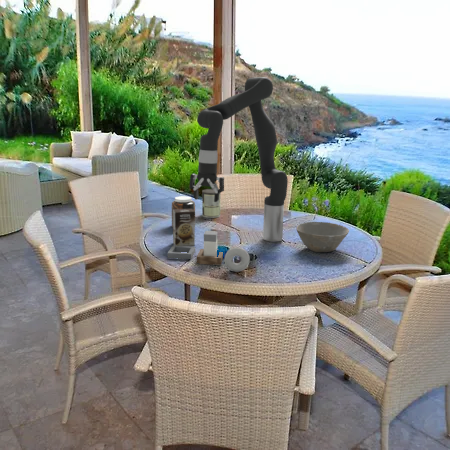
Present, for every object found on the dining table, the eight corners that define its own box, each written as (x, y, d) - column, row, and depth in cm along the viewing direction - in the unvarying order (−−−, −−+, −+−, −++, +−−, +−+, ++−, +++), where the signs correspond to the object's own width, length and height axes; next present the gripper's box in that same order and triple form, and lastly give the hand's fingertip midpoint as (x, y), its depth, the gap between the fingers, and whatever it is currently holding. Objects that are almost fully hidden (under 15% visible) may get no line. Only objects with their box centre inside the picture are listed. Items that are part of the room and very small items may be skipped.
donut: (249, 270, 197) (249, 246, 195) (249, 273, 194) (250, 248, 191) (223, 269, 197) (224, 245, 194) (224, 272, 194) (224, 248, 191)
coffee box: (175, 247, 223) (175, 212, 219) (172, 242, 229) (172, 208, 225) (195, 245, 225) (195, 211, 221) (192, 241, 231) (192, 207, 227)
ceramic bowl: (286, 244, 230) (287, 223, 227) (329, 240, 237) (331, 220, 235) (311, 260, 210) (312, 237, 207) (357, 255, 217) (359, 233, 215)
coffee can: (198, 215, 278) (198, 190, 274) (212, 212, 284) (213, 188, 280) (209, 218, 270) (209, 193, 266) (224, 216, 277) (224, 191, 273)
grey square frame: (195, 252, 217) (195, 246, 216) (191, 259, 207) (191, 254, 207) (172, 250, 218) (172, 245, 217) (167, 258, 208) (167, 252, 208)
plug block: (217, 258, 210) (217, 231, 206) (215, 262, 205) (216, 234, 201) (205, 257, 210) (205, 230, 207) (203, 261, 205) (203, 234, 202)
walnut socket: (223, 256, 212) (223, 250, 211) (220, 265, 202) (221, 258, 201) (200, 255, 213) (200, 248, 212) (196, 263, 203) (196, 256, 202)
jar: (185, 230, 248) (185, 201, 244) (167, 227, 254) (166, 198, 249) (199, 225, 257) (199, 197, 253) (181, 222, 263) (180, 194, 259)
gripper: (227, 162, 201) (225, 201, 205) (195, 158, 206) (193, 197, 210) (221, 164, 194) (219, 204, 199) (188, 160, 199) (186, 200, 203)
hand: (206, 200), depth 204 cm, fingers open, 8 cm apart
